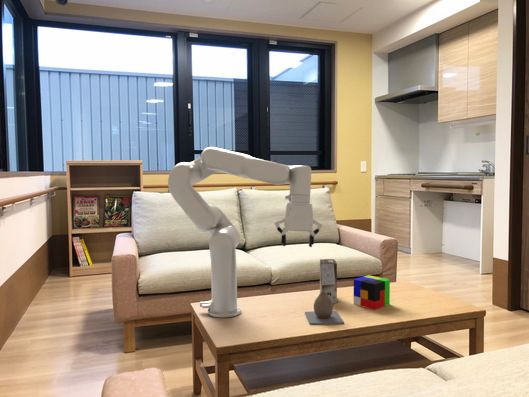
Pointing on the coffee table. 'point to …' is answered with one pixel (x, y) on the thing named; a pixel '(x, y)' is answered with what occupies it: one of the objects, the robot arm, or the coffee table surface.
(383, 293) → the puzzle toy
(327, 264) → the coffee box
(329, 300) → the vase
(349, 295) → the coffee table surface
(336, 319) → the mat
